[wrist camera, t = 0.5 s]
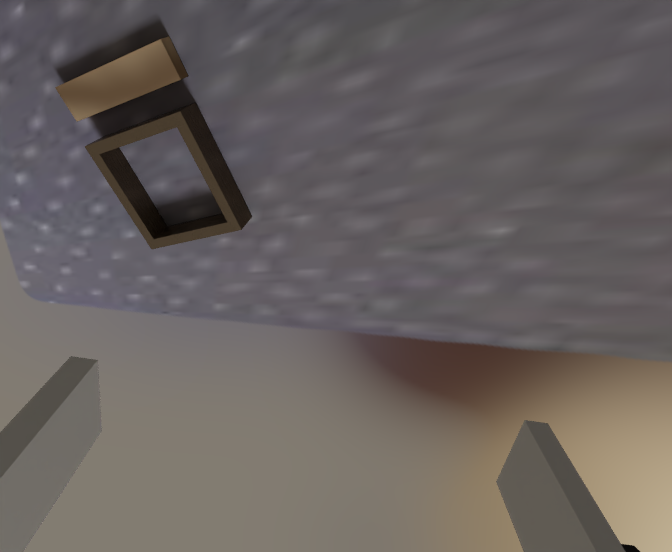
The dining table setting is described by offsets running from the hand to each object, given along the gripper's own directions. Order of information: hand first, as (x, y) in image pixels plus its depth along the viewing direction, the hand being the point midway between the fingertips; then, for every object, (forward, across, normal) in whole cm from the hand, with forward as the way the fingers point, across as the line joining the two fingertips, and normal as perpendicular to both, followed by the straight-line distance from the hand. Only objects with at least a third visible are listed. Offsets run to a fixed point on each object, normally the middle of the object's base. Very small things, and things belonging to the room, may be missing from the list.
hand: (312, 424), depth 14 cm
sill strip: (+30, -18, +6) cm, 36 cm away
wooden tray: (+31, -14, -2) cm, 34 cm away
